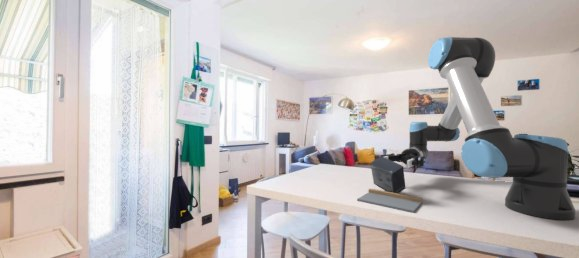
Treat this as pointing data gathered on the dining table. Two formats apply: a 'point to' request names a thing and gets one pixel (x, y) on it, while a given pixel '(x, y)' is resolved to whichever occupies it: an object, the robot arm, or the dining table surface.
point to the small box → (388, 175)
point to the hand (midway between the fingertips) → (394, 162)
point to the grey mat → (392, 200)
